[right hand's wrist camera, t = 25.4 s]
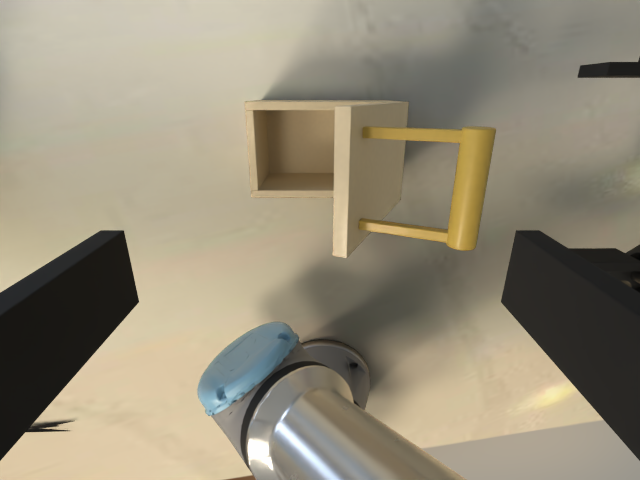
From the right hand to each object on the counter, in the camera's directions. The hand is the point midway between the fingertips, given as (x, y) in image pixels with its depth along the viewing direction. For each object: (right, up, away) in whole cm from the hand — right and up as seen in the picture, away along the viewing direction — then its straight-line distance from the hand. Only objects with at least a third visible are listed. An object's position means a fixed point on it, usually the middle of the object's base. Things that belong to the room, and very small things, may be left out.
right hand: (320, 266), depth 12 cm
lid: (+4, +7, +17) cm, 19 cm away
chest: (0, +14, +34) cm, 36 cm away
